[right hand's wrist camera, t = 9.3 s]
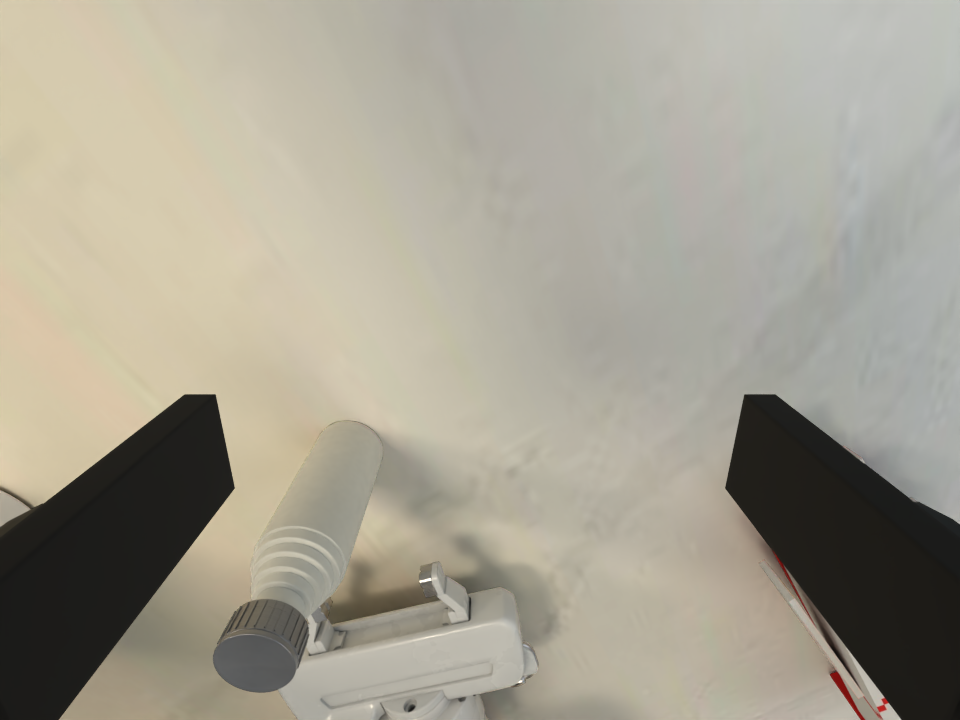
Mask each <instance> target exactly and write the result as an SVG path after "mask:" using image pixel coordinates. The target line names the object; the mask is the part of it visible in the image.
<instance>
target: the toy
mask: <svg viewBox="0 0 960 720" xmlns="http://www.w3.org/2000/svg"><path fill="white" fill-rule="evenodd" d="M842 447H844V448H845V449H846V450H848V451H849V452H850V453H851V454H853V455H854V456H855V457H857V458H858V459H859V460H861V461H862V462H863V463H864V460H863V458H861V457H860V456H858V455H857V454H855V453H854V452H852V451H851V450H850V449H848V448H847V447H845V446H842ZM864 464H865V463H864ZM910 499H911V500H912V501H913V502H917V501H916V500H914V499H913V498H912V497H910ZM772 551H773V550H772ZM773 553H774V552H773ZM774 554H775V553H774ZM775 556H776V554H775ZM776 558H777V560H778V562H779V563H780V565H781V567H782V569H783V570H784V572H785V574H786V576H787V578H788V579H789V581H790V583H791V585H792V587H793V588H794V590H795V592H796V594H797V595H798V597H799V599H800V601H801V603H802V604H803V606H804V608H805V610H806V611H807V613H808V615H809V617H810V618H809V617H808V616H807V614H806V613H805V611H804V610H803V609H802V607H801V606H800V604H799V603H798V602H797V600H796V599H795V598H794V596H793V595H792V594H791V593H790V591H789V590H788V589H787V588H786V586H785V585H784V584H783V582H782V581H781V580H780V579H779V577H778V576H777V575H776V574H775V572H774V571H773V570H772V569H771V567H770V566H769V565H768V564H767V562H766V561H765V560H763V561H761V562H759V565H760V566H761V567H762V569H763V570H764V572H765V573H766V574H767V576H768V577H769V578H770V580H771V581H772V583H773V584H774V585H775V587H776V588H777V590H778V591H779V592H780V594H781V595H782V596H783V598H784V599H785V601H786V602H787V603H788V605H789V606H790V608H791V609H792V610H793V612H794V613H795V614H796V616H797V617H798V619H799V620H800V621H801V623H802V624H803V626H804V627H805V628H806V630H807V631H808V633H809V634H810V635H811V637H812V638H813V639H814V641H815V642H816V644H817V645H818V646H819V648H820V649H821V651H822V652H823V653H824V655H825V656H826V657H827V659H828V660H829V661H830V662H831V664H832V665H833V666H834V668H835V669H836V670H837V672H835V673H832V674H830V676H831V678H832V679H833V681H834V682H835V683H836V685H837V686H838V688H839V689H840V691H841V692H842V693H843V695H844V696H845V698H846V699H847V701H848V702H849V704H850V705H851V706H852V708H853V709H854V711H855V712H856V714H857V715H858V716H859V718H860V719H861V720H901V719H900V717H899V716H898V715H897V713H896V712H895V711H894V709H893V708H892V707H891V705H890V704H889V703H888V701H887V700H886V699H885V698H884V696H883V695H882V694H881V692H880V691H879V690H878V688H877V687H876V686H875V684H874V683H873V682H872V680H871V679H870V678H869V676H868V675H867V674H866V673H865V671H864V670H863V669H862V667H861V666H860V665H859V663H858V662H857V661H856V659H855V658H854V657H853V655H852V654H851V653H850V652H849V650H848V649H847V648H846V646H845V645H844V644H843V642H842V641H841V640H840V638H839V637H838V636H837V634H836V633H835V632H834V630H833V629H832V628H831V627H830V625H829V624H828V623H827V621H826V620H825V619H824V617H823V616H822V615H821V613H820V612H819V611H818V609H817V608H816V607H815V606H814V604H813V603H812V602H811V600H810V599H809V598H808V596H807V595H806V594H805V592H804V591H803V590H802V588H801V587H800V586H799V585H798V583H797V582H796V581H795V579H794V578H793V577H792V575H791V574H790V573H789V571H788V570H787V569H786V567H785V566H784V565H783V563H782V562H781V561H780V560H779V558H778V557H777V556H776ZM810 619H811V620H812V621H811V620H810ZM812 622H813V623H812Z"/></svg>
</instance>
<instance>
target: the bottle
mask: <svg viewBox="0 0 960 720" xmlns="http://www.w3.org/2000/svg"><path fill="white" fill-rule="evenodd" d="M382 458H383V447H382V443H381V441H380V439H379V437H378V436H377V435H376V433H375V432H374V431H373V430H371V429H370V428H369V427H367V426H366V425H363V424H361V423H358V422H354V421H340V422H336V423H334V424H331V425H330V426H328V427H327V428H325V429H324V430H323V431H322V433H321V434H320V436H319V437H318V439H317V441H316V442H315V444H314V446H313V448H312V449H311V451H310V453H309V455H308V456H307V458H306V460H305V461H304V463H303V465H302V467H301V468H300V470H299V472H298V473H297V475H296V477H295V479H294V480H293V482H292V484H291V485H290V487H289V489H288V491H287V492H286V494H285V496H284V498H283V499H282V501H281V503H280V504H279V506H278V508H277V510H276V511H275V513H274V515H273V516H272V518H271V520H270V522H269V523H268V525H267V527H266V528H265V530H264V532H263V534H262V535H261V537H260V539H259V540H258V542H257V544H256V546H255V549H254V552H253V557H252V560H251V583H252V584H251V595H252V597H251V601H253V600H258V599H273V600H278V601H282V602H284V603H287V604H289V605H291V606H293V607H294V608H296V609H297V610H298V611H299V612H300V613H301V614H302V615H303V616H304V617H305V619H307V618H308V616H309V615H311V614H312V613H313V612H314V611H316V609H317V608H318V607H319V606H320V605H321V604H322V603H324V602H325V600H326V599H328V598H329V597H330V596H331V595H332V594H333V593H334V592H335V591H336V589H337V587H338V585H339V584H340V583H341V581H342V580H343V578H344V575H345V572H346V569H347V566H348V563H349V560H350V557H351V554H352V551H353V548H354V545H355V542H356V538H357V535H358V532H359V529H360V526H361V523H362V520H363V517H364V514H365V511H366V508H367V505H368V501H369V498H370V495H371V492H372V489H373V486H374V483H375V480H376V477H377V474H378V471H379V467H380V464H381V461H382Z"/></svg>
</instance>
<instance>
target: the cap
mask: <svg viewBox="0 0 960 720" xmlns="http://www.w3.org/2000/svg"><path fill="white" fill-rule="evenodd" d="M309 636H310V634H309V627H308V623H307V621H306V619H305V617H304V616H303V615H302V614H301V613H300V612H299V611H298V610H297V609H296V608H294V607H293V606H291V605H289V604H287V603H284V602H282V601H278V600H273V599H258V600H253V601H250V602H248V603H246V604H244V605H242V606H240V608H239V609H238V610H237V611H235V612H234V614H233V616H232V617H231V619H230V621H229V623H228V624H227V626H226V628H225V630H224V632H223V634H222V635H221V637H220V639H219V641H218V643H217V644H218V645H217V647H216V649H215V651H214V655H213V663H214V666H215V669H216V671H217V672H218V674H219V675H220V676H221V677H222V678H223V679H224V680H225V681H226V682H228V683H229V684H231V685H233V686H235V687H237V688H239V689H242V690H246V691H250V692H259V693H261V692H271V691H275V690H278V689H281V688H283V687H284V686H286V685H287V684H288V683H289V682H290V681H291V680H292V679H293V677H294V675H295V672H296V670H297V669H298V668H299V665H300V662H301V660H302V657H303V654H304V651H305V648H306V645H307V643H308V638H309Z"/></svg>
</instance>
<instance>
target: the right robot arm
mask: <svg viewBox="0 0 960 720" xmlns="http://www.w3.org/2000/svg"><path fill="white" fill-rule="evenodd" d="M234 489H235V487H234V482H233V477H232V472H231V468H230V463H229V458H228V453H227V448H226V443H225V438H224V433H223V428H222V423H221V419H220V414H219V409H218V404H217V399H216V394H185V395H183V396H182V397H181V398H180V399H178V400H177V401H176V402H174V403H173V404H172V405H171V406H169V407H168V408H167V409H165V410H164V411H163V412H161V413H160V414H159V415H158V416H156V417H155V418H154V419H152V420H151V421H150V422H149V423H147V424H146V425H145V426H143V427H142V428H141V429H140V430H138V431H137V432H136V433H134V434H133V435H132V436H130V437H129V438H128V439H127V440H125V441H124V442H123V443H121V444H120V445H119V446H118V447H116V448H115V449H114V450H112V451H111V452H110V453H109V454H107V455H106V456H105V457H103V458H102V459H101V460H99V461H98V462H97V463H96V464H94V465H93V466H92V467H90V468H89V469H88V470H87V471H85V472H84V473H83V474H81V475H80V476H79V477H78V478H76V479H75V480H74V481H72V482H71V483H70V484H68V485H67V486H66V487H65V488H63V489H62V490H61V491H59V492H58V493H57V494H56V495H54V496H53V497H52V498H50V499H49V500H48V501H47V502H45V503H44V504H40V505H39V506H37V507H35V508H33V509H31V510H29V511H27V512H25V513H23V514H21V515H19V516H17V517H15V518H13V519H11V520H9V521H8V522H6V523H5V524H4V525H2V526H1V527H0V720H59V719H60V717H61V716H62V715H63V713H64V712H65V711H66V709H67V708H68V707H69V705H70V704H71V703H72V701H73V700H74V699H75V698H76V696H77V695H78V694H79V692H80V691H81V690H82V688H83V687H84V686H85V684H86V683H87V682H88V680H89V679H90V678H91V676H92V675H93V674H94V673H95V671H96V670H97V669H98V667H99V666H100V665H101V663H102V662H103V661H104V659H105V658H106V657H107V655H108V654H109V653H110V652H111V650H112V649H113V648H114V646H115V645H116V644H117V642H118V641H119V640H120V638H121V637H122V636H123V634H124V633H125V632H126V630H127V629H128V628H129V627H130V625H131V624H132V623H133V621H134V620H135V619H136V617H137V616H138V615H139V613H140V612H141V611H142V609H143V608H144V607H145V606H146V604H147V603H148V602H149V600H150V599H151V598H152V596H153V595H154V594H155V592H156V591H157V590H158V588H159V587H160V586H161V584H162V583H163V582H164V581H165V579H166V578H167V577H168V575H169V574H170V573H171V571H172V570H173V569H174V567H175V566H176V565H177V563H178V562H179V561H180V560H181V558H182V557H183V556H184V554H185V553H186V552H187V550H188V549H189V548H190V546H191V545H192V544H193V542H194V541H195V540H196V539H197V537H198V536H199V535H200V533H201V532H202V531H203V529H204V528H205V527H206V525H207V524H208V523H209V521H210V520H211V519H212V517H213V516H214V515H215V514H216V512H217V511H218V510H219V508H220V507H221V506H222V504H223V503H224V502H225V500H226V499H227V498H228V496H229V495H230V494H231V493H232V491H233V490H234ZM725 489H726V490H727V491H728V493H729V494H730V495H731V496H732V498H733V499H734V500H735V502H736V503H737V504H738V506H739V507H740V508H741V510H742V511H743V512H744V514H745V515H746V516H747V517H748V519H749V520H750V521H751V523H752V524H753V525H754V527H755V528H756V529H757V531H758V532H759V533H760V535H761V536H762V537H763V539H764V540H765V541H766V542H767V544H768V545H769V546H770V548H771V549H772V550H773V552H774V553H775V554H776V556H777V557H778V558H779V560H780V561H781V562H782V563H783V565H784V566H785V567H786V569H787V570H788V571H789V573H790V574H791V575H792V577H793V578H794V579H795V581H796V582H797V583H798V585H799V586H800V587H801V588H802V590H803V591H804V592H805V594H806V595H807V596H808V598H809V599H810V600H811V602H812V603H813V604H814V606H815V607H816V608H817V609H818V611H819V612H820V613H821V615H822V616H823V617H824V619H825V620H826V621H827V623H828V624H829V625H830V627H831V628H832V629H833V630H834V632H835V633H836V634H837V636H838V637H839V638H840V640H841V641H842V642H843V644H844V645H845V646H846V648H847V649H848V650H849V652H850V653H851V654H852V655H853V657H854V658H855V659H856V661H857V662H858V663H859V665H860V666H861V667H862V669H863V670H864V671H865V673H866V674H867V675H868V676H869V678H870V679H871V680H872V682H873V683H874V684H875V686H876V687H877V688H878V690H879V691H880V692H881V694H882V695H883V696H884V698H885V699H886V700H887V701H888V703H889V704H890V705H891V707H892V708H893V709H894V711H895V712H896V713H897V715H898V716H899V717H900V719H901V720H960V524H958V523H957V522H956V521H954V520H953V519H951V518H949V517H947V516H945V515H943V514H941V513H939V512H937V511H935V510H933V509H932V508H930V507H928V506H926V505H924V504H922V503H920V502H913V501H912V500H911V499H910V498H908V497H907V496H906V495H904V494H903V493H902V492H901V491H899V490H898V489H897V488H895V487H894V486H893V485H892V484H890V483H889V482H888V481H886V480H885V479H884V478H882V477H881V476H880V475H879V474H877V473H876V472H875V471H873V470H872V469H871V468H870V467H868V466H867V465H866V464H864V463H863V462H862V461H861V460H859V459H858V458H857V457H855V456H854V455H853V454H851V453H850V452H849V451H848V450H846V449H845V448H844V447H842V446H841V445H840V444H839V443H837V442H836V441H835V440H833V439H832V438H831V437H830V436H828V435H827V434H826V433H824V432H823V431H822V430H820V429H819V428H818V427H817V426H815V425H814V424H813V423H811V422H810V421H809V420H808V419H806V418H805V417H804V416H802V415H801V414H800V413H799V412H797V411H796V410H795V409H793V408H792V407H791V406H789V405H788V404H787V403H786V402H784V401H783V400H782V399H780V398H779V397H778V396H777V395H775V394H744V399H743V404H742V409H741V414H740V419H739V423H738V428H737V433H736V438H735V443H734V448H733V453H732V458H731V463H730V468H729V472H728V477H727V482H726V487H725Z"/></svg>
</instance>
